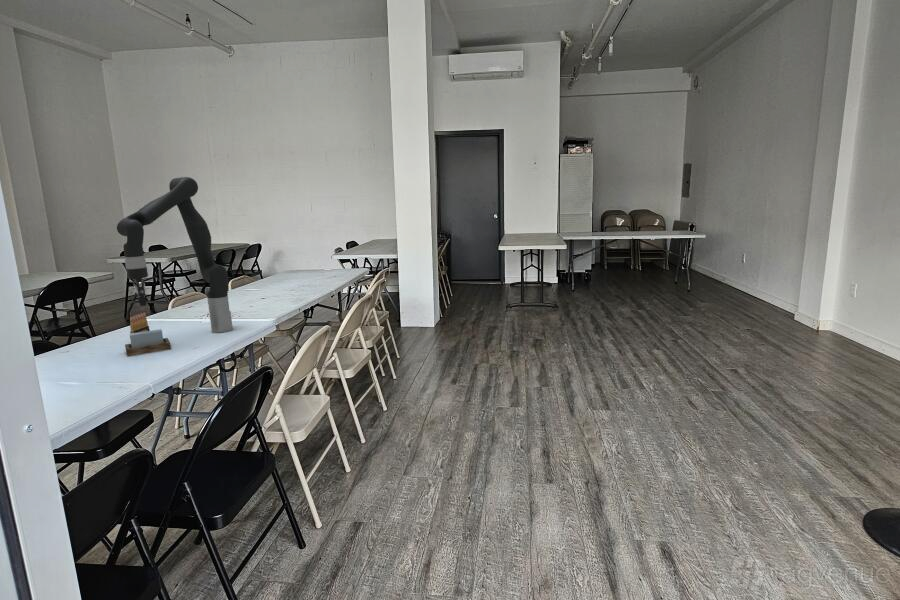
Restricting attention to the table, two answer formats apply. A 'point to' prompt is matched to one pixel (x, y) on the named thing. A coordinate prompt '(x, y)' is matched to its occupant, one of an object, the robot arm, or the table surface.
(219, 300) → the robot arm
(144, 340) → the long grey rectangular block
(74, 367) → the table surface
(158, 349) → the cradle jig
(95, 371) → the table surface
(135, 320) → the ammunition clip
